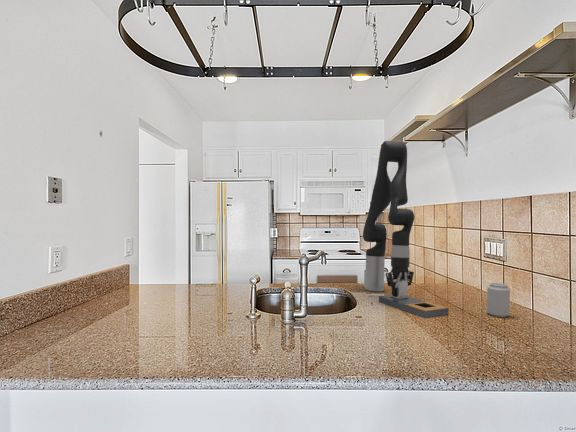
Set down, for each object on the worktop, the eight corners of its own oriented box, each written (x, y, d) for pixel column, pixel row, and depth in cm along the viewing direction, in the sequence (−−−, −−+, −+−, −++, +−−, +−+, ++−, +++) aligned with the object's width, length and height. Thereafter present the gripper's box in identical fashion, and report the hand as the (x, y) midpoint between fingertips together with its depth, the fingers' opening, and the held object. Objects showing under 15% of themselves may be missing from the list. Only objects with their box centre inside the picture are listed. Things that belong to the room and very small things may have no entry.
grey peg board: (378, 301, 157) (378, 295, 157) (400, 299, 162) (400, 293, 162) (425, 317, 133) (425, 310, 133) (448, 314, 138) (448, 307, 138)
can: (482, 313, 141) (483, 282, 141) (495, 311, 144) (495, 281, 144) (500, 318, 134) (501, 286, 134) (513, 316, 137) (514, 285, 137)
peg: (391, 302, 155) (391, 279, 155) (399, 302, 157) (400, 279, 157) (398, 305, 151) (399, 281, 151) (407, 304, 153) (407, 280, 153)
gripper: (406, 254, 160) (405, 293, 160) (381, 255, 154) (380, 295, 154) (419, 256, 153) (418, 296, 153) (393, 257, 147) (392, 299, 147)
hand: (399, 295), depth 154 cm, fingers closed on peg, 4 cm apart
